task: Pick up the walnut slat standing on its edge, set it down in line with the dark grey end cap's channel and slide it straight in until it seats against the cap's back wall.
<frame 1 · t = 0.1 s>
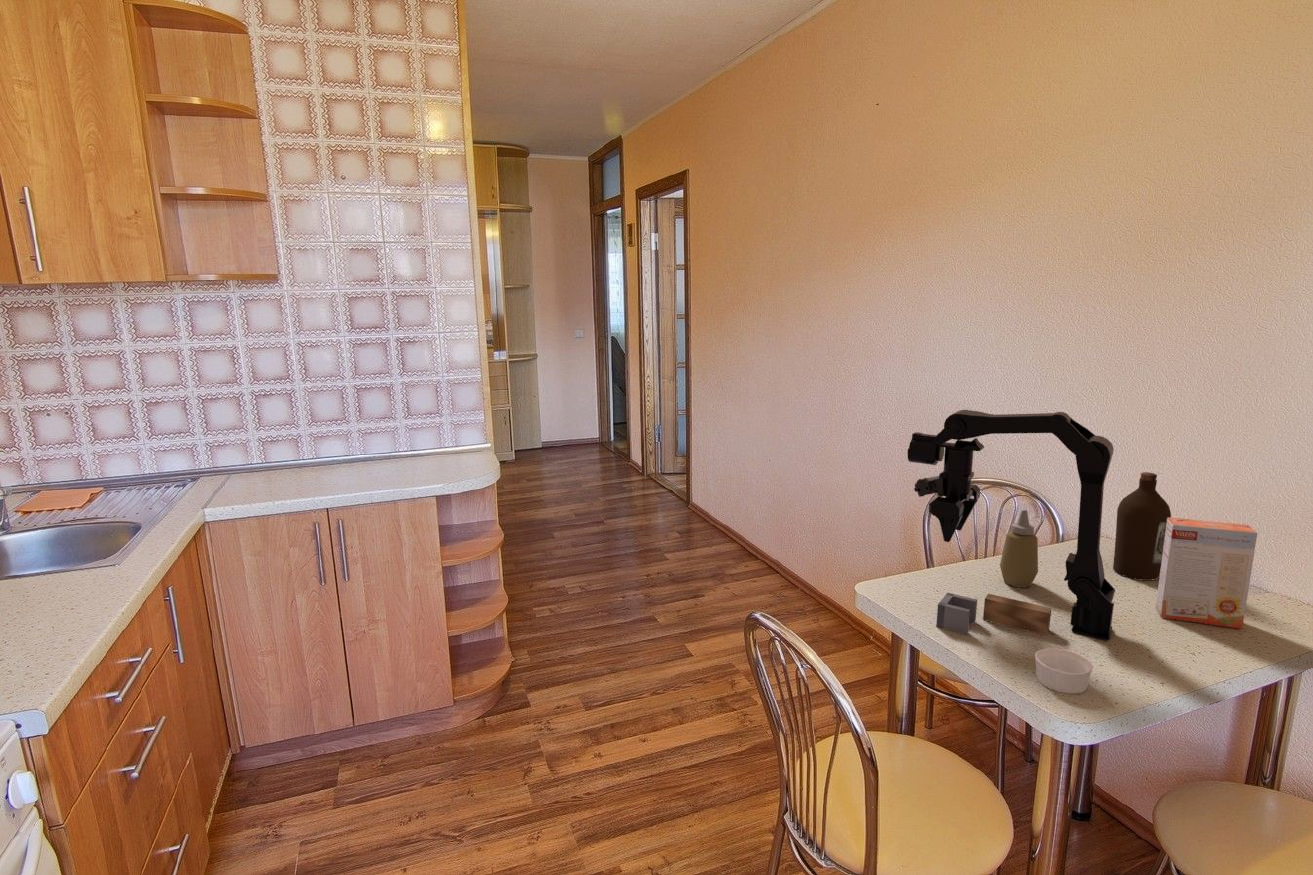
hand: (952, 535, 157), 15 cm above the table, tool pointing down, fingers open, 9 cm apart
squeeze bottle: (1017, 583, 167), on the table
ramekin: (1060, 683, 126), on the table
cracker box: (1196, 619, 149), on the table
olive oil: (1135, 573, 172), on the table
end cap: (956, 624, 147), on the table
slat: (1015, 625, 147), on the table
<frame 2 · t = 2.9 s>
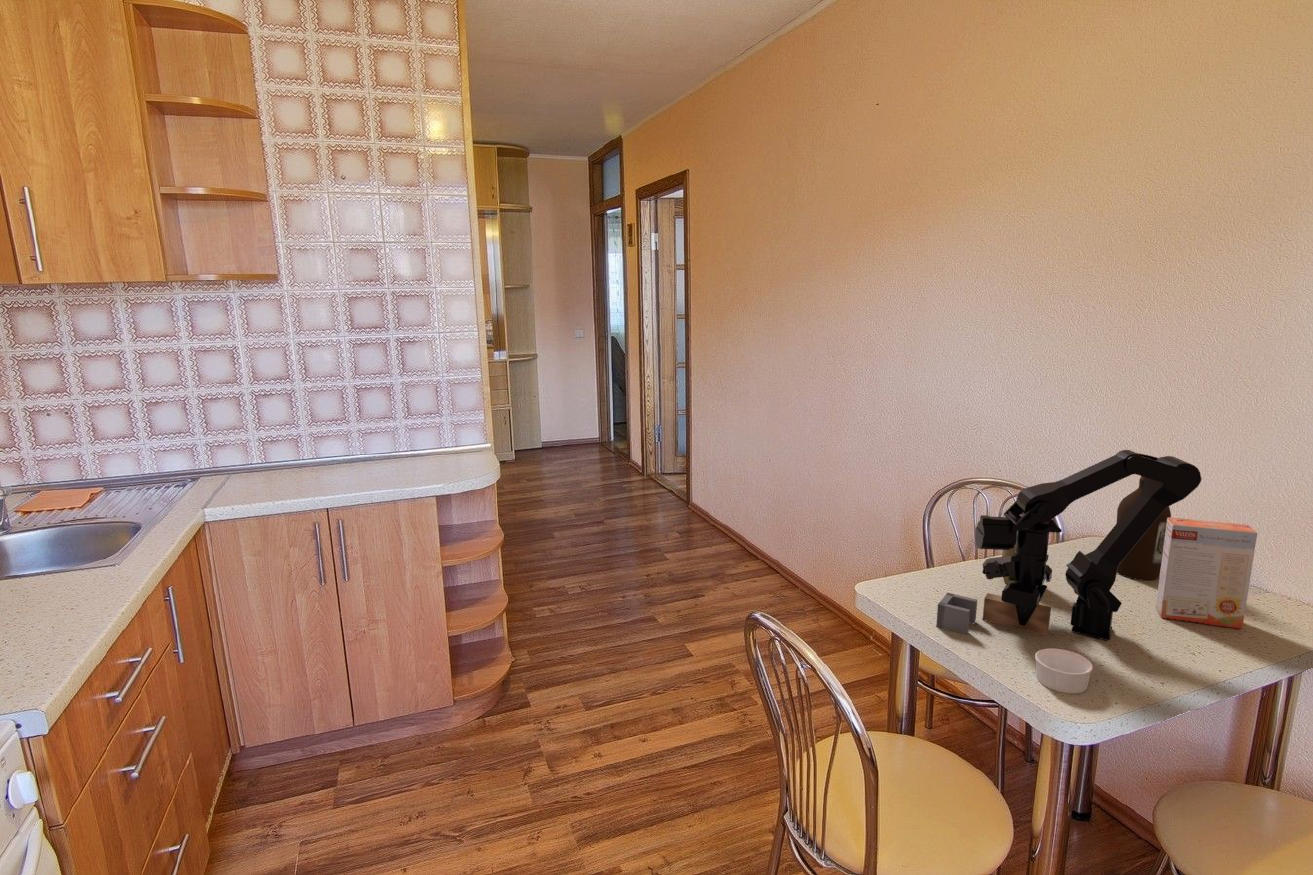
hand: (1023, 621, 146), 1 cm above the table, tool pointing down, fingers closed on slat, 3 cm apart
slat: (1015, 624, 147), on the table, touching gripper
everything else where it was.
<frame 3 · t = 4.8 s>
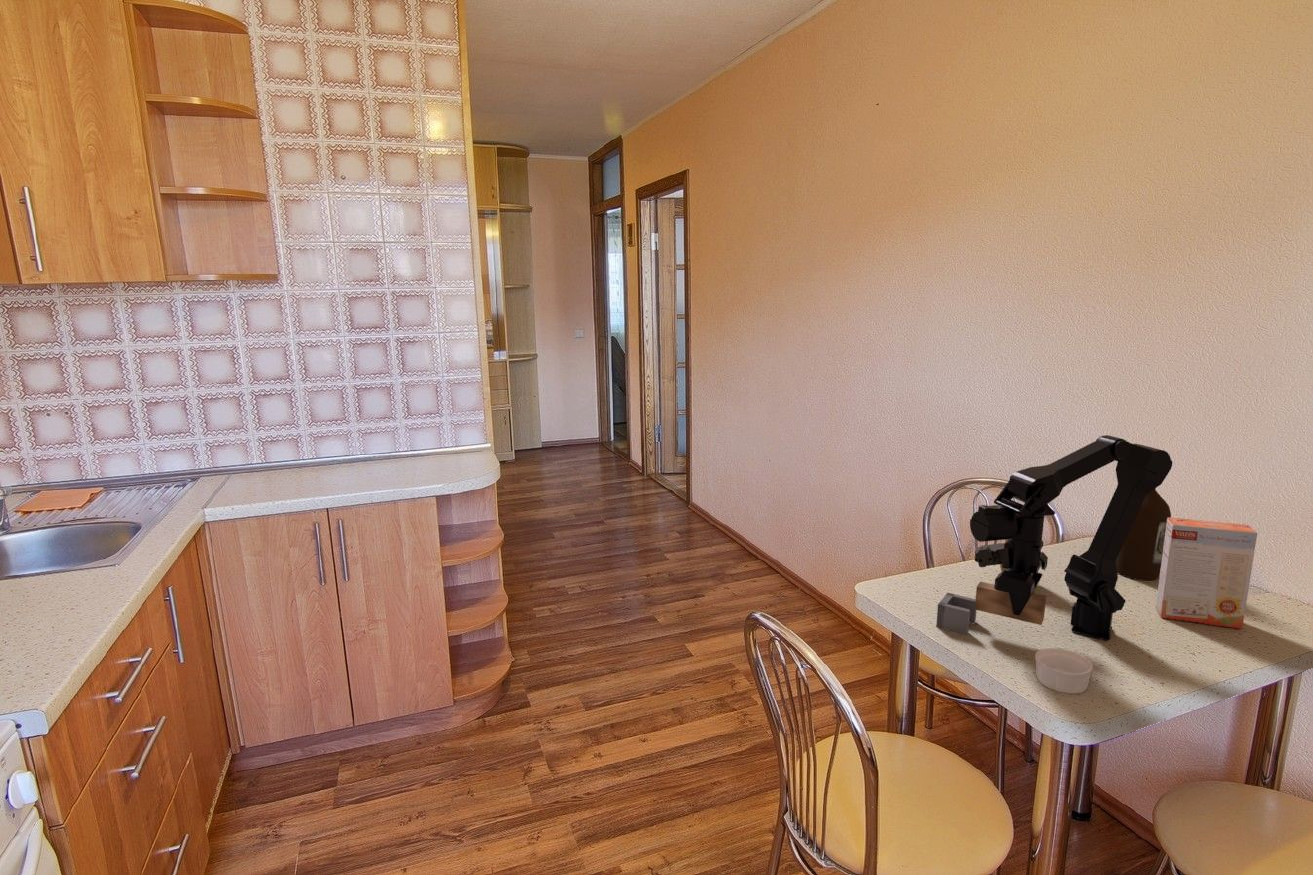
hand: (1018, 611, 140), 6 cm above the table, tool pointing down, fingers closed on slat, 3 cm apart
slat: (1008, 614, 141), point 5 cm above the table, touching gripper
everything else where it was.
when the fingers open (1 cm above the table, at t = 6.7 s): slat stays where it is, on the table.
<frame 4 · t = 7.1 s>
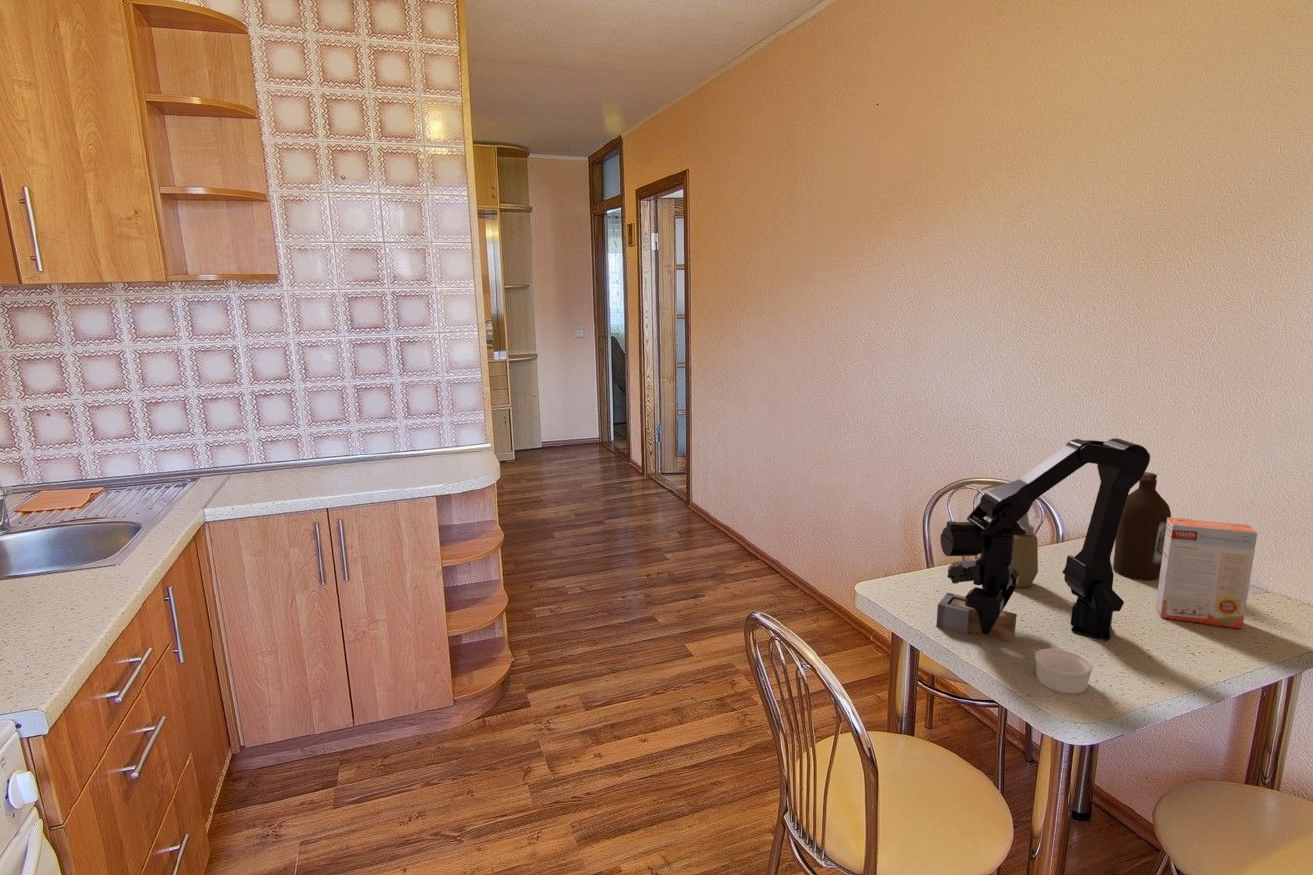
hand: (989, 626, 143), 1 cm above the table, tool pointing down, fingers open, 7 cm apart
slat: (980, 631, 145), on the table
everything else where it was.
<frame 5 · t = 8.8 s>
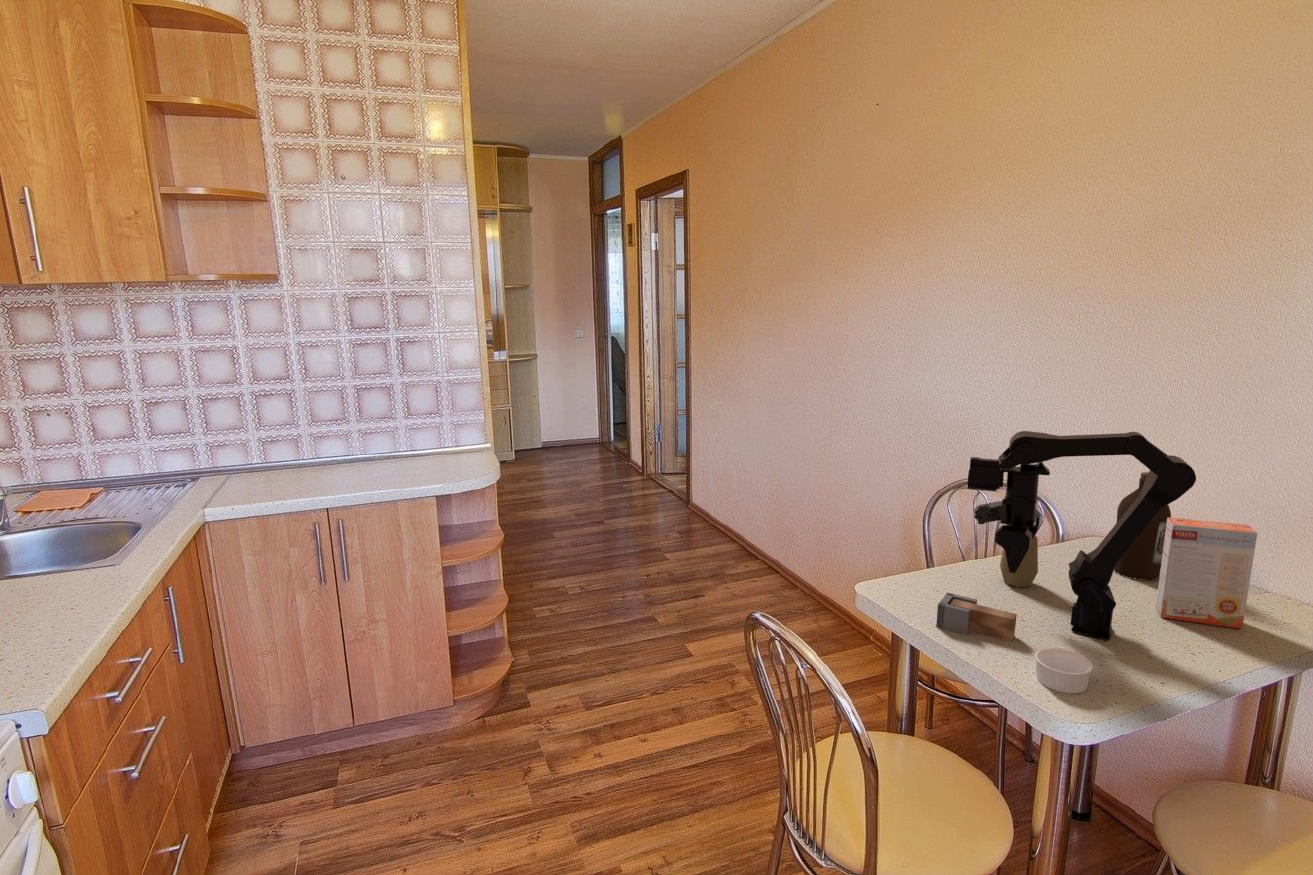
hand: (1015, 565, 148), 12 cm above the table, tool pointing down, fingers open, 9 cm apart
nothing on the table moved.
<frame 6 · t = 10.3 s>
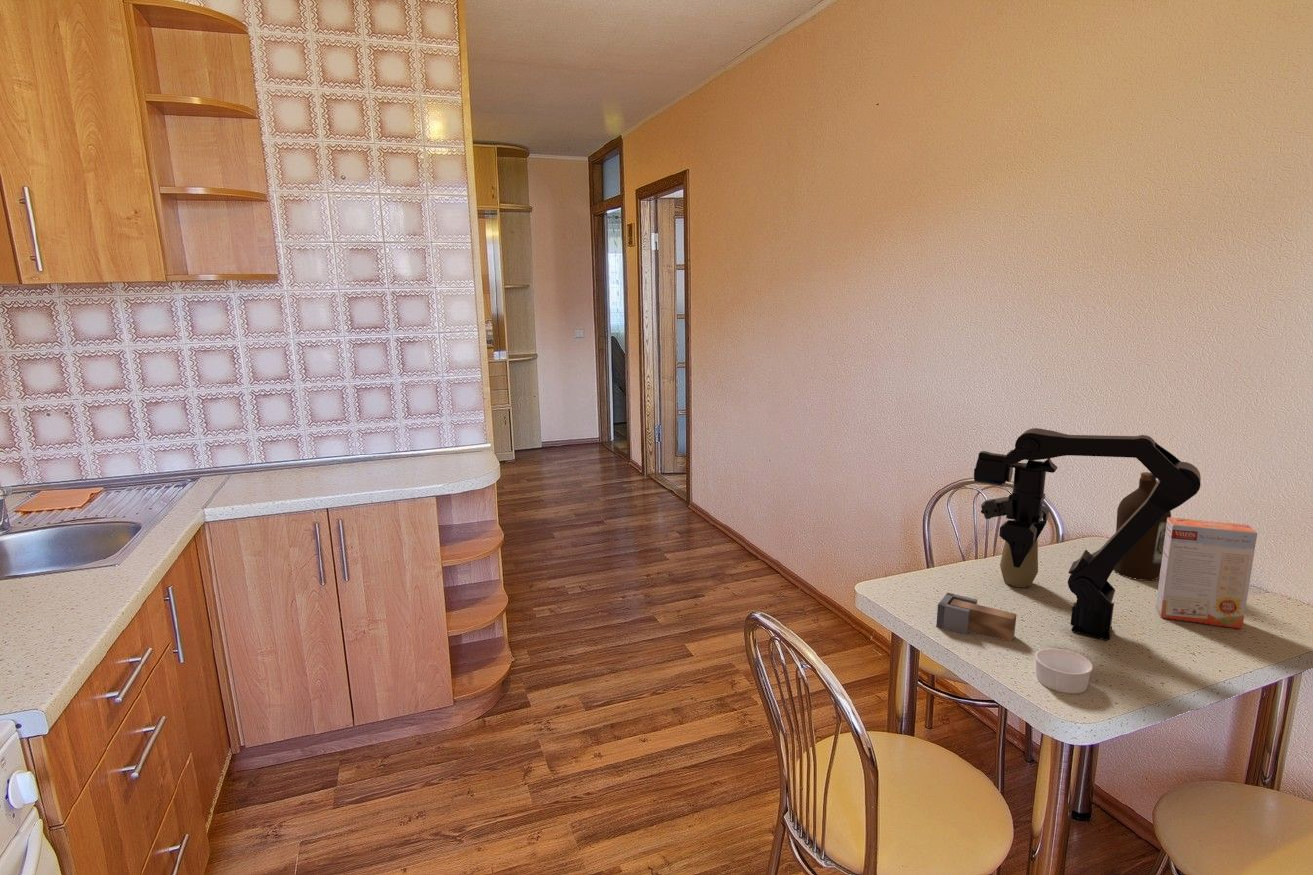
hand: (1021, 560, 150), 12 cm above the table, tool pointing down, fingers open, 9 cm apart
nothing on the table moved.
at the end: slat 0.3 cm from the target spot, on the table; slat tilted 0°; the gripper is holding nothing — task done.
